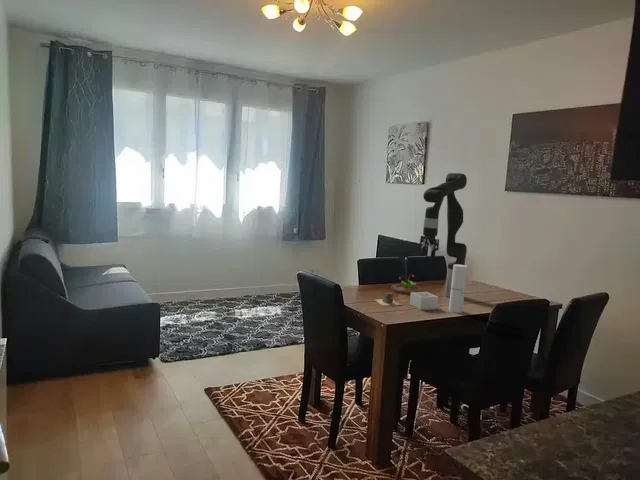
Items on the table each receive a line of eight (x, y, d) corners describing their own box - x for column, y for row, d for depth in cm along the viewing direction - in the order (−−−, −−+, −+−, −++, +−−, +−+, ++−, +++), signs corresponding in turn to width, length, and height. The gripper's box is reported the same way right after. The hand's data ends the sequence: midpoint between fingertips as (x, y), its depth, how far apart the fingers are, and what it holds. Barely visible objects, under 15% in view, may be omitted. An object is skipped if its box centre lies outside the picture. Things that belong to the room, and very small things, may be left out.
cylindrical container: (446, 309, 254) (451, 264, 251) (459, 309, 254) (464, 264, 251) (451, 312, 247) (456, 266, 244) (464, 313, 247) (469, 267, 244)
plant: (427, 296, 282) (429, 278, 281) (395, 294, 281) (397, 276, 280) (418, 288, 302) (420, 271, 301) (389, 287, 301) (390, 270, 299)
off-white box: (425, 304, 262) (426, 292, 261) (436, 309, 252) (438, 296, 251) (409, 304, 258) (410, 292, 257) (420, 310, 248) (421, 297, 247)
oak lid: (391, 300, 267) (392, 290, 266) (402, 306, 256) (403, 295, 255) (372, 301, 262) (373, 290, 262) (383, 307, 251) (384, 296, 251)
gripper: (444, 228, 244) (441, 258, 246) (429, 225, 257) (426, 254, 259) (432, 228, 241) (429, 258, 243) (417, 225, 254) (414, 254, 256)
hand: (427, 256), depth 251 cm, fingers open, 8 cm apart
